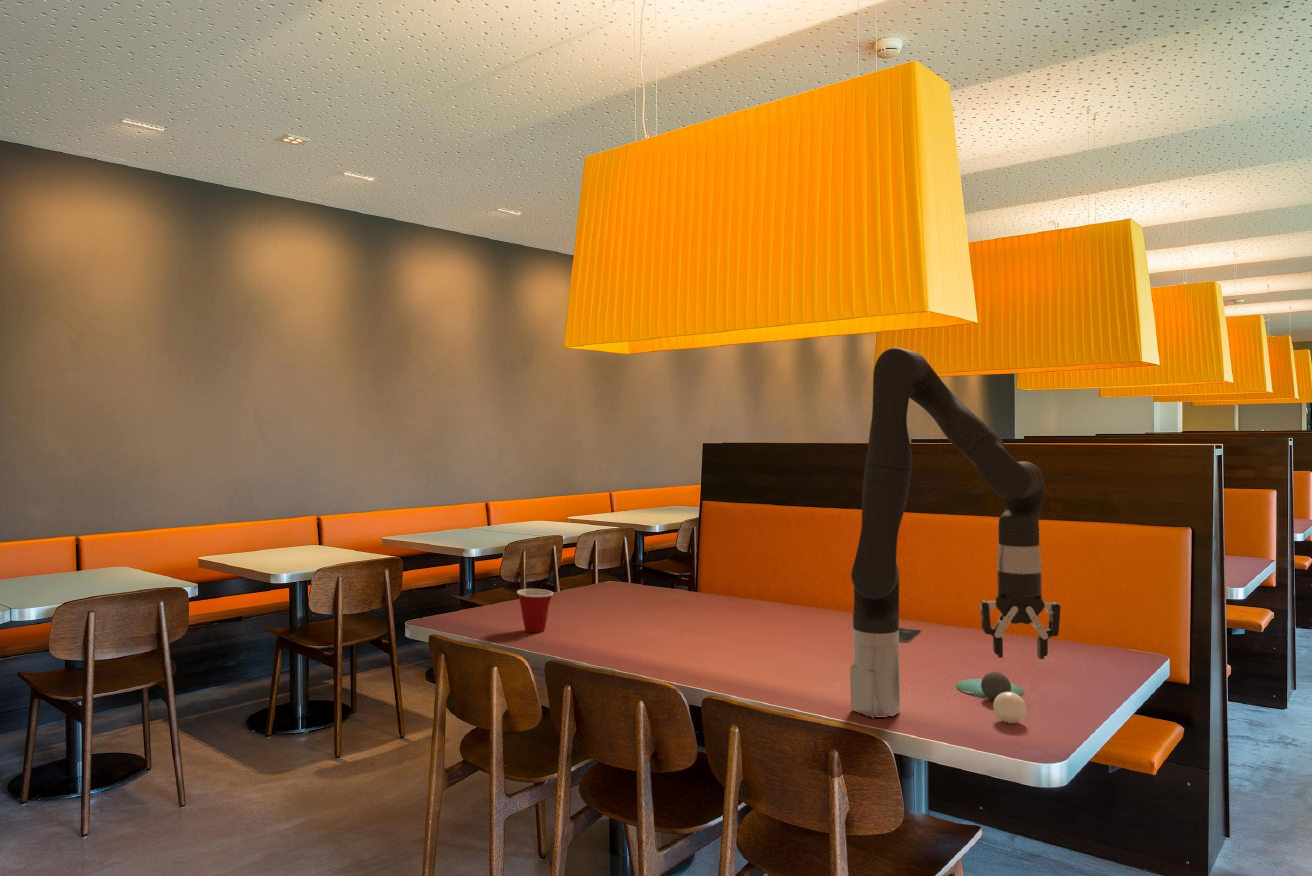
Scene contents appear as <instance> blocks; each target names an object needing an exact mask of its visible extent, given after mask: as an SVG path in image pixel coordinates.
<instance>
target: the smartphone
mask: <svg viewBox="0 0 1312 876" xmlns="http://www.w3.org/2000/svg"><path fill="white" fill-rule="evenodd" d="M921 633H922V630H920V629H913V628H904V627H899V643H911V641H913V640H914V639H915V638H916V637H918V636H919V635H920V634H921Z"/></svg>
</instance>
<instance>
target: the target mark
mask: <svg viewBox="0 0 1312 876" xmlns="http://www.w3.org/2000/svg"><path fill="white" fill-rule="evenodd" d="M982 679H983V678H970V679H969V678H968V679H964V680H960V681H958V682H957V683H956V685H955V687H957V688H958V689H959V690H958V689H957V688H956V689H957V690H958V691H960V690H961V691H966V692H967V691H969V692H971V693H968V694H967V695H969V694H971V695H970V696H973V695H976V696H975V697H977V696H981V697H980V698H983V697H986V696H985V694H984V693H983V691H982V688H981V682H982ZM1010 684H1011V692H1013V693H1015V694H1017V695H1019V696H1020V697H1021V696H1022V695H1023V694H1024V690H1023V688H1021V687H1020V686H1018V685H1016V684H1014V683H1011V682H1010ZM961 691H960V692H961ZM972 692H974V693H972ZM976 692H977V693H976Z"/></svg>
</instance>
